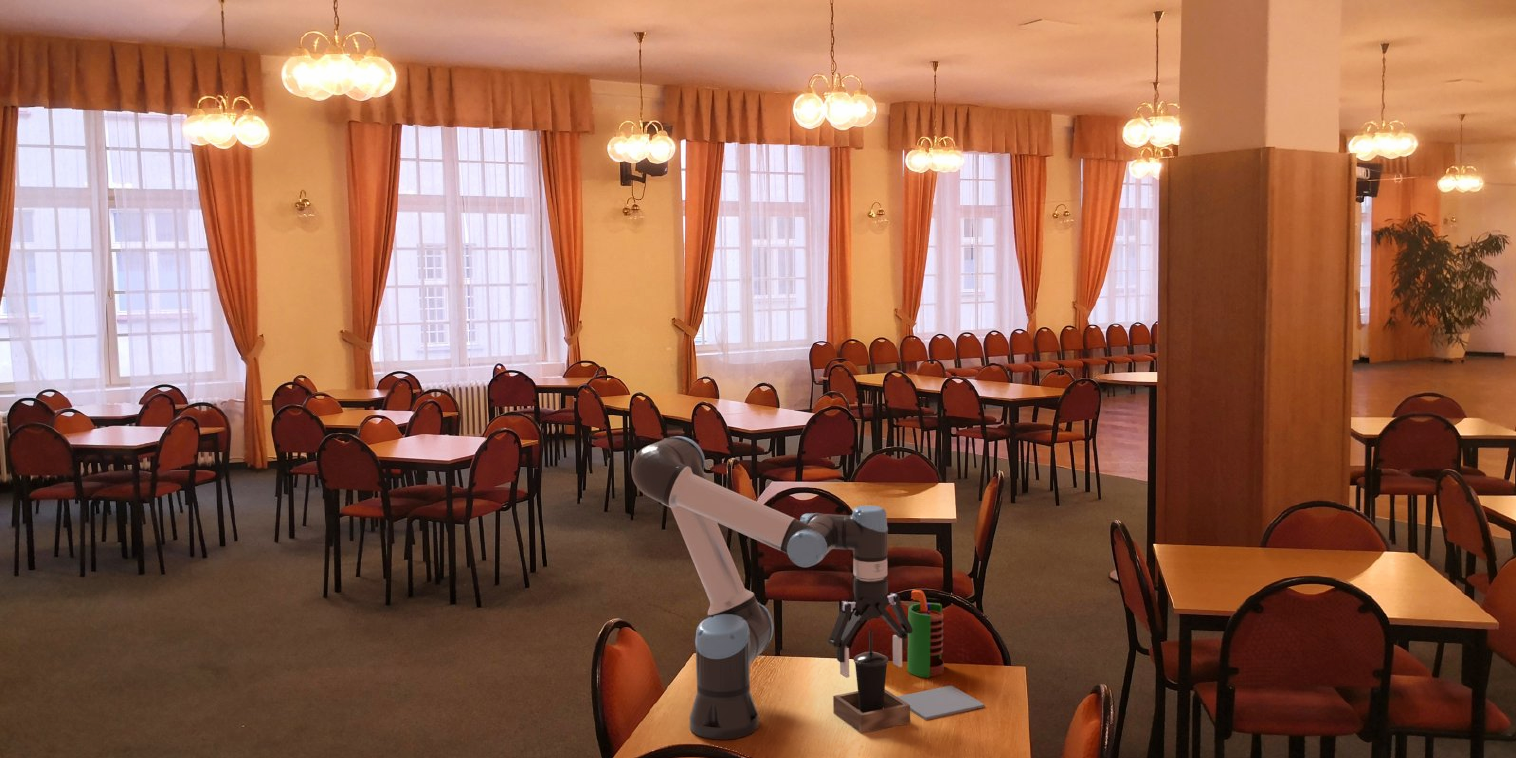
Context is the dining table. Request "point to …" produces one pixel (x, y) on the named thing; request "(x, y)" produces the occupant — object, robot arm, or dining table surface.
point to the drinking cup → (870, 678)
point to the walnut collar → (871, 712)
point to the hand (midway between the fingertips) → (871, 670)
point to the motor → (925, 637)
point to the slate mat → (940, 702)
